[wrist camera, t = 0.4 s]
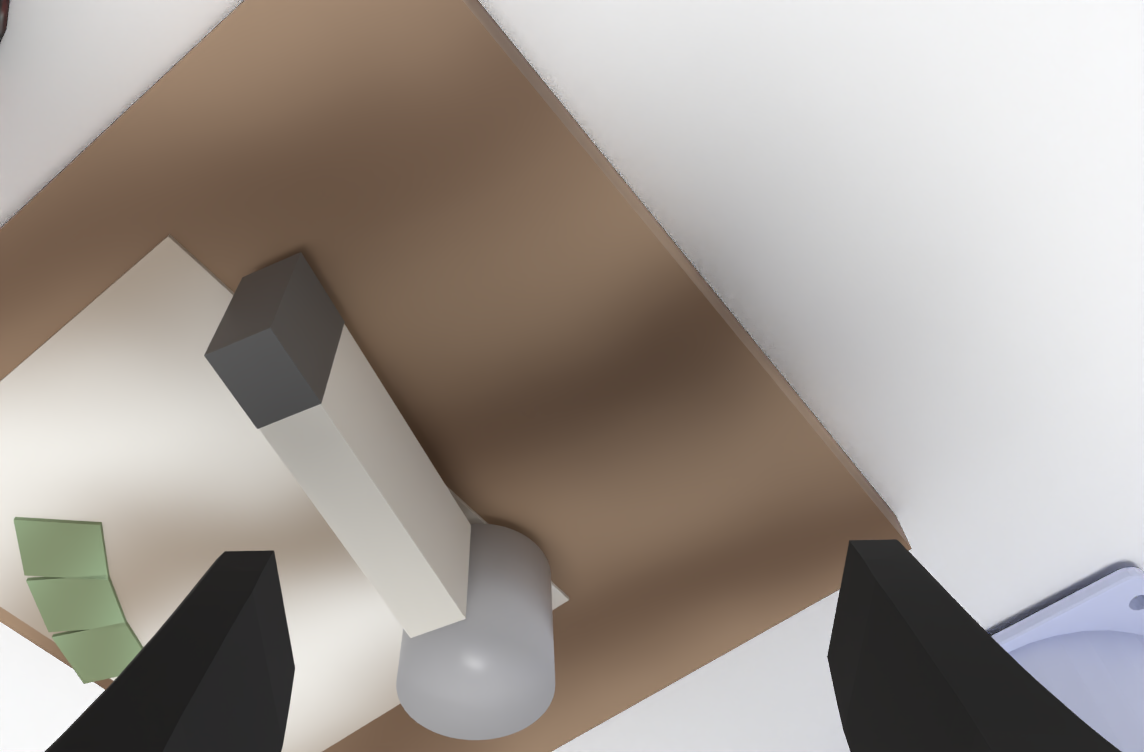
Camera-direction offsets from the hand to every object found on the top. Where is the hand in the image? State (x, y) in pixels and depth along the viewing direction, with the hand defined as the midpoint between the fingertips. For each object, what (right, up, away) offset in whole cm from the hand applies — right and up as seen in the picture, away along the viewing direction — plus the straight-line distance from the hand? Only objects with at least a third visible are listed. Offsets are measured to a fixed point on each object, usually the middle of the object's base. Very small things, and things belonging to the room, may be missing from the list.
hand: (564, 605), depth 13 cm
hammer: (-3, +1, +9) cm, 10 cm away
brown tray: (-4, +1, +11) cm, 12 cm away
